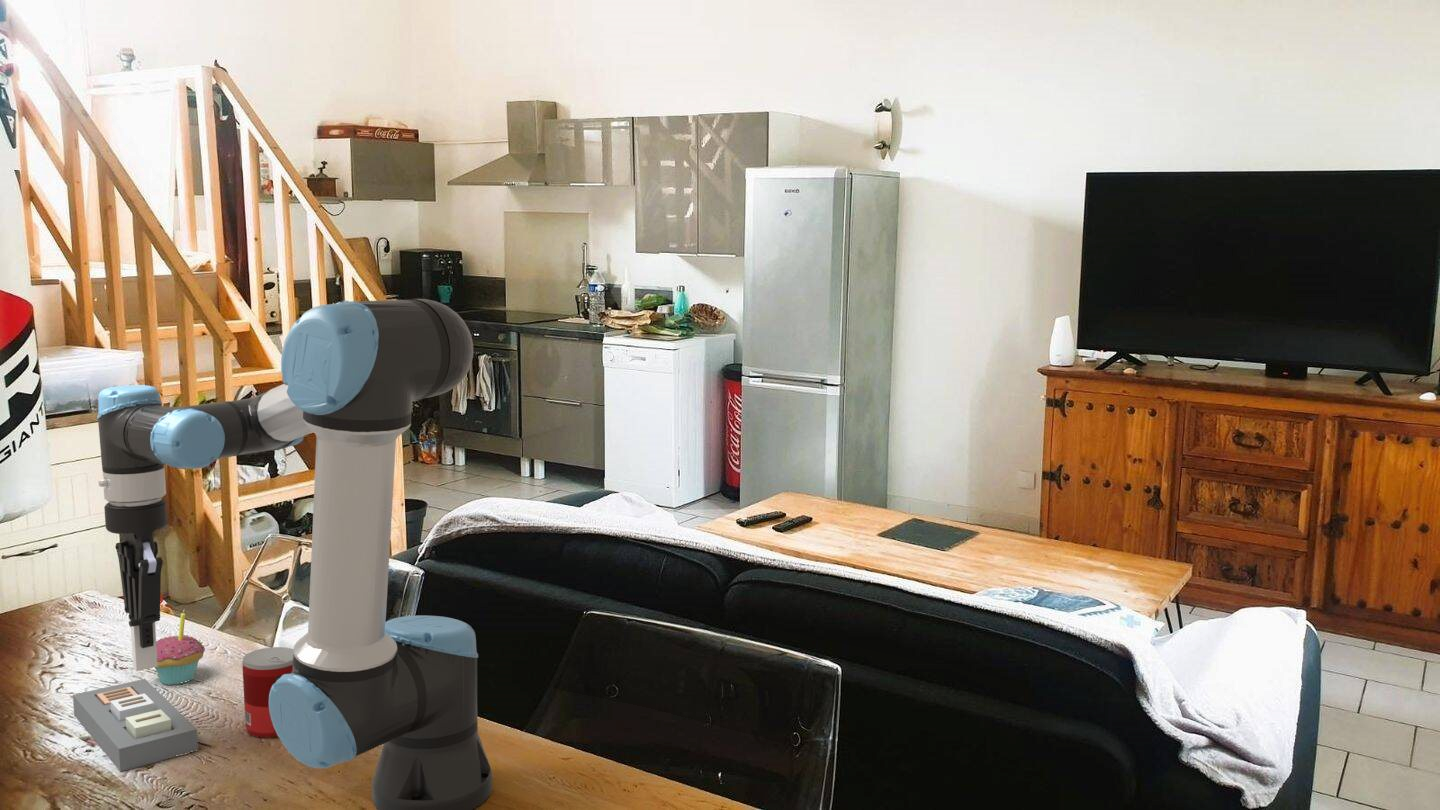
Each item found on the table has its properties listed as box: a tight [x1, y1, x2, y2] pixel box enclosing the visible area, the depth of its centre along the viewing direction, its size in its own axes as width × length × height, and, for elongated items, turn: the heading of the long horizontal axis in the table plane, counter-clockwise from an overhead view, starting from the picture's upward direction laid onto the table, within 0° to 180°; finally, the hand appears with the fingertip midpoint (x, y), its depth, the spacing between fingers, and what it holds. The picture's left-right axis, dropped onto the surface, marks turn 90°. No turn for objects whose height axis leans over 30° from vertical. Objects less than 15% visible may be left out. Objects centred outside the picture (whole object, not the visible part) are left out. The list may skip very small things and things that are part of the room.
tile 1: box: [126, 709, 172, 739], centre depth 163 cm, size 5×5×2 cm
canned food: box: [242, 646, 294, 739], centre depth 171 cm, size 8×8×11 cm
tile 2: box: [110, 693, 155, 722], centre depth 169 cm, size 5×5×2 cm
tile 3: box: [97, 687, 138, 705], centre depth 174 cm, size 5×5×2 cm
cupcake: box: [154, 608, 206, 685], centre depth 188 cm, size 9×8×12 cm
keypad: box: [72, 678, 199, 773], centre depth 169 cm, size 24×10×3 cm, turn 42°
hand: (145, 667), depth 162 cm, fingers closed
